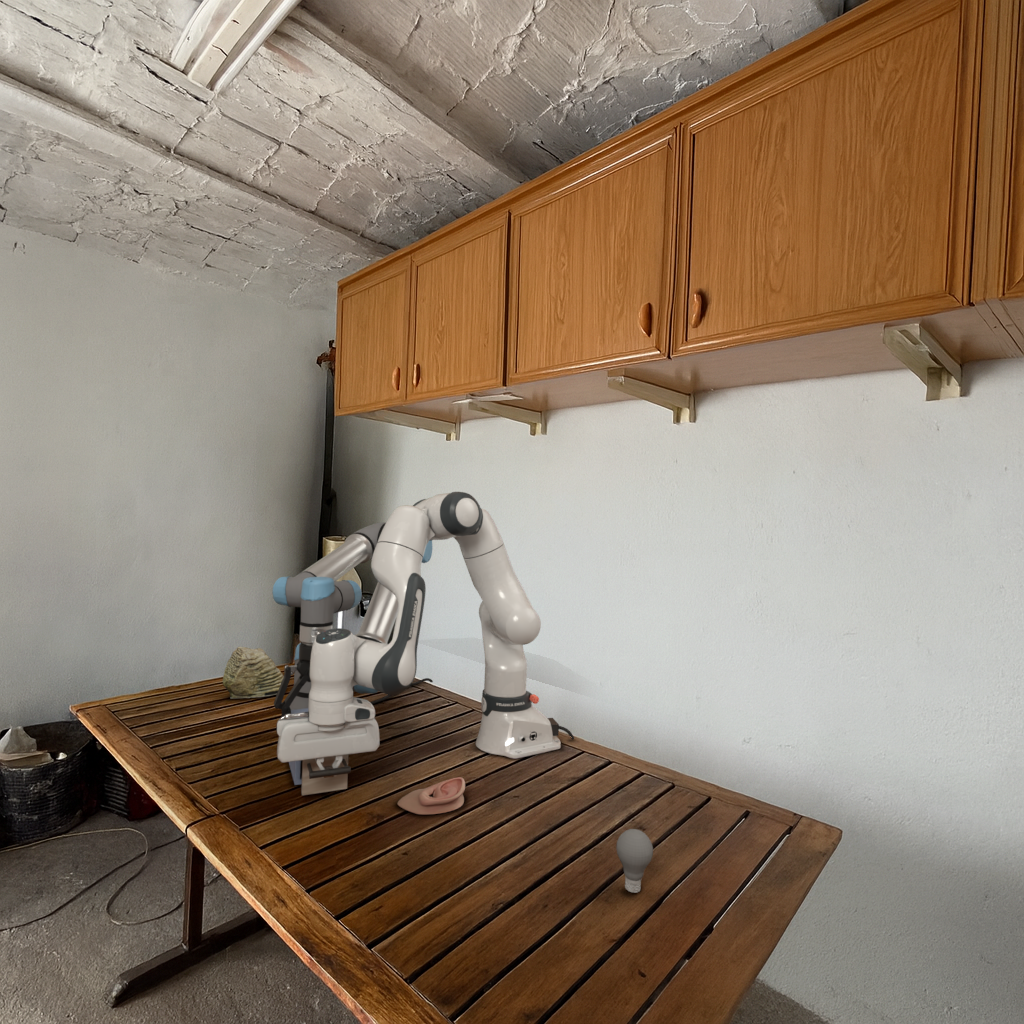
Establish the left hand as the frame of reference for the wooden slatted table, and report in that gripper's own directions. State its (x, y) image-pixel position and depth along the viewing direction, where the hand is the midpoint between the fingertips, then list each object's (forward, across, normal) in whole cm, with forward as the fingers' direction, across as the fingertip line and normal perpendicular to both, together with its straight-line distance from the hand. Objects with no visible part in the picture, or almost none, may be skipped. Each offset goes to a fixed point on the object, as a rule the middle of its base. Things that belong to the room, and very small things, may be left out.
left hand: (312, 733), depth 152 cm
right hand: (0, 0, -24) cm, 24 cm away
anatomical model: (+6, +20, -31) cm, 37 cm away
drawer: (+5, 0, -16) cm, 17 cm away
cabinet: (+6, 0, -4) cm, 8 cm away
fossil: (+6, -10, +55) cm, 56 cm away
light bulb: (+6, +42, -71) cm, 83 cm away
